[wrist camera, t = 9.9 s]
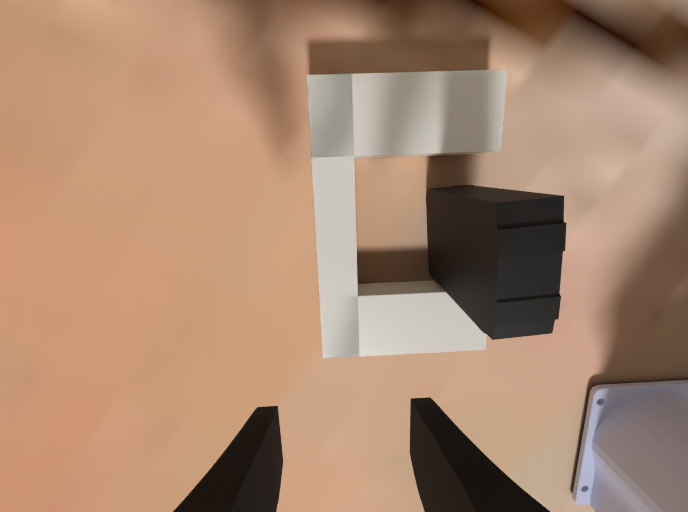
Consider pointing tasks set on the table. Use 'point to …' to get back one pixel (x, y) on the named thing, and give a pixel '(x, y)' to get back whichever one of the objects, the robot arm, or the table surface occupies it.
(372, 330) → the groove holder
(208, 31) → the table surface
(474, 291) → the ink cartridge
